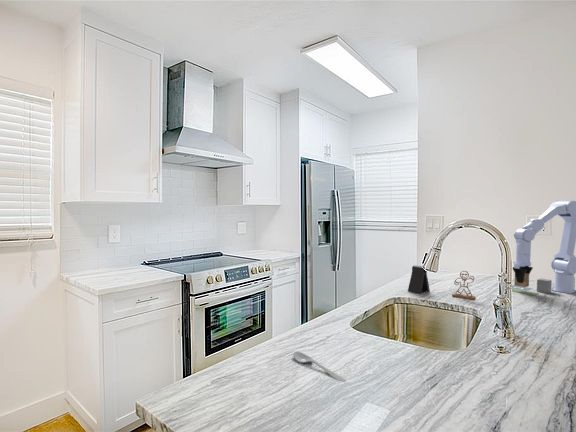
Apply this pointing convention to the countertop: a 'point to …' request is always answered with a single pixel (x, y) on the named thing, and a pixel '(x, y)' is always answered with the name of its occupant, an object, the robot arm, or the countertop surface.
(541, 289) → the grey block
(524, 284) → the walnut block
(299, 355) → the spoon
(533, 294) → the rubber mat
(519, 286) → the blue card
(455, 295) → the grey figurine
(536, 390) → the countertop surface
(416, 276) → the phone stand
